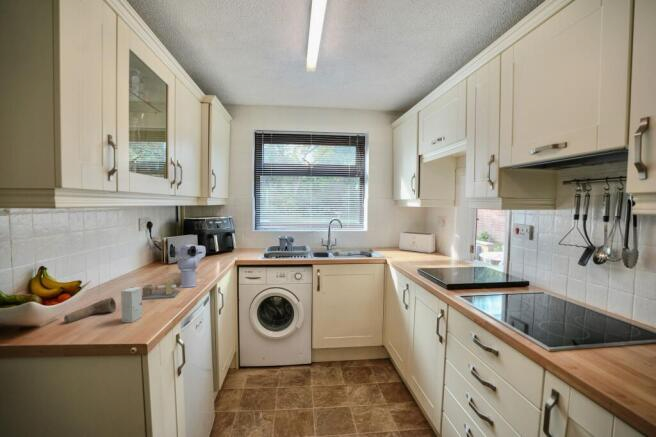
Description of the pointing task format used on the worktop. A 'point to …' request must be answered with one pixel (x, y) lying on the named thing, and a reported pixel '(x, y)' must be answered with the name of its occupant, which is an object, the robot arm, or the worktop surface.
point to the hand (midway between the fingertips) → (179, 252)
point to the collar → (170, 286)
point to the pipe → (92, 310)
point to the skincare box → (131, 304)
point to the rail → (157, 295)
